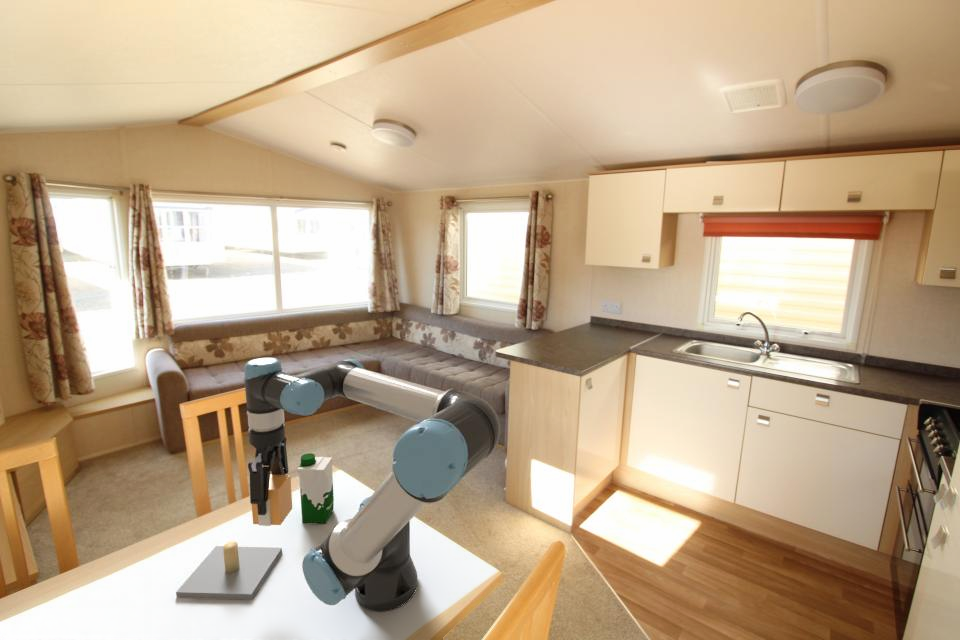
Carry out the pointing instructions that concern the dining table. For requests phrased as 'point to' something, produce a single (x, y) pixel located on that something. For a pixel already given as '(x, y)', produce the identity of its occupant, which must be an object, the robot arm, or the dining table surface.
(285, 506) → the wooden toy block
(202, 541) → the dining table surface
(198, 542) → the dining table surface
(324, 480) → the milk carton
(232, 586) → the board
